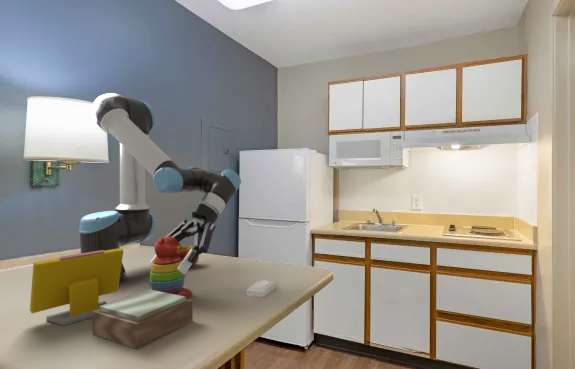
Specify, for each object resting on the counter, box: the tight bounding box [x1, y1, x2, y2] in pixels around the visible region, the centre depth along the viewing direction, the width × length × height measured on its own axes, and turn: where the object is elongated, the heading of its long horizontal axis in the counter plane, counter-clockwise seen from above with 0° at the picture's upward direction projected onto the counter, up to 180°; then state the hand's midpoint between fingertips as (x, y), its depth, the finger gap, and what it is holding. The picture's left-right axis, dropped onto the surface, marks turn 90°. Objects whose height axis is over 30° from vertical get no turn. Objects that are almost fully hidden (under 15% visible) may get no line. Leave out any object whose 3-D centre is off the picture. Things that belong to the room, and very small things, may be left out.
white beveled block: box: [246, 279, 276, 298], centre depth 101 cm, size 5×9×3 cm, turn 158°
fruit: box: [178, 245, 200, 268], centre depth 133 cm, size 10×9×8 cm
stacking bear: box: [149, 235, 193, 298], centre depth 96 cm, size 11×10×18 cm
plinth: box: [91, 288, 194, 350], centre depth 77 cm, size 15×15×6 cm
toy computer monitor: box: [29, 247, 124, 326], centre depth 86 cm, size 20×8×16 cm, turn 141°
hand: (166, 268), depth 95 cm, fingers open, 13 cm apart
